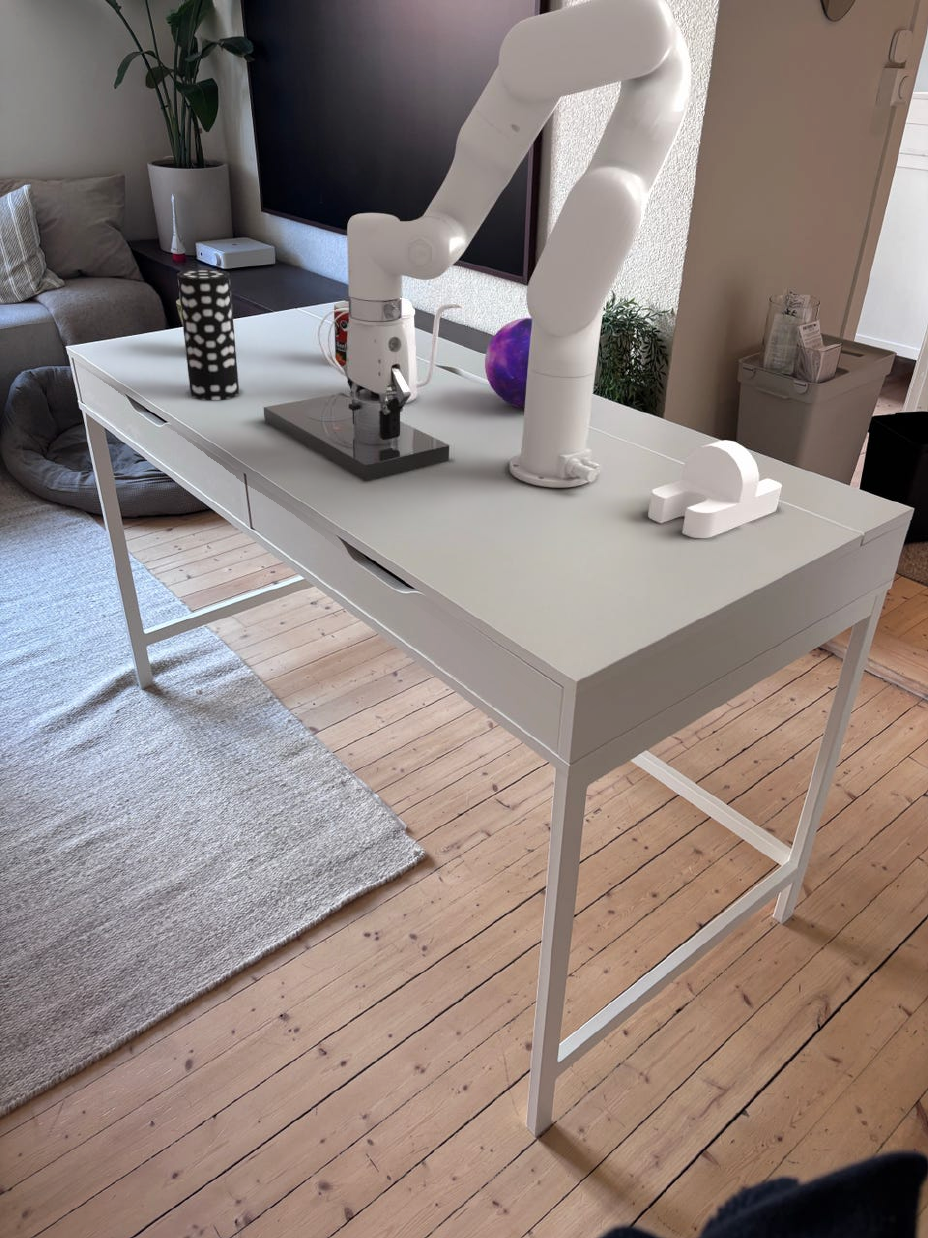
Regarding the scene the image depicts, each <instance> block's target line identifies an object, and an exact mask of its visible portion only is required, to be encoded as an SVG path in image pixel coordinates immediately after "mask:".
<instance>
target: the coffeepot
mask: <svg viewBox="0 0 928 1238" xmlns="http://www.w3.org/2000/svg"><path fill="white" fill-rule="evenodd" d="M464 308H465V307H464V306H463V305H461V304H460V303H457V302H448V303H444V304H443V305H441V306H440V307H438V309H437V310H436V312H435V315H434V320H433V330H432V340H431V349H430V356H429V357H430V358H429V365H428V366H429V367H428V371H427V375H426V378H424V380H421V381H418V366H417V363H418V362H417V349H416V346H417V345H416V332H415V331H416V330H415V328H416V327H415V315H416V309H415V308H414V307H413V305H412V302H411V301H410V300H409V299H407V298H406V297H403V296H402V321H401V322H403V323H404V327H405V332H406V338H407V347H408V364H409V387H408V388H409V390H410V392H411V396H410V397H409V399H408V400H407V401H406V404H408V403H411V402H413V401H414V400H415V399H416V398H417V397H418V395H419V388H421V387H424V386H426V385H428V384H429V383H430V382H431V380H432V379H433V376H434V371H435V366H436V355H437V346H438V337H439V329H440V328H439V327H440V319H441V316H442V313H443V312H445V311H447V310H449V309H464ZM337 311H345V312H343V313H341V314H340V315H339V316H338V317H340V316H341V315H343V314H345V313H348V312H349V308H341V309H336V310H334V309H333V310H332V311H330V312H328V313H327V314H326V316H324V318H323V319H322V320H321V322H320V325H319V327H318V333H317V334H318V335H317V337H318V338H317V339H318V345H319V348H320V349H321V352H322V354H323V356H324V358H325V359H326V361H327V362H328V364H329V365H330V366H331V367H332V368H333V369H334V370H336V371H337V372H338V373H339V374H341V375H343V376H344V377H345V378H347V377H346V374H345V372H344V369H343V366H342V365H340V364H339V363H338V362H337V360H336V358H335V355H334V354H335V353H334V351H333V349H332V341H331V339H332V338H331V337H332V329H333V328H334V327H333V326H334V322H335V321H336V319H337V318H338V317H337V318H336V319H335V320H334V319H333V321H332V323H331V325H330V326H329V330H328V336H327V347H328V351H329V355H330V356H329V355H328V354H327V352H326V350H325V347H324V344H323V340H322V328H323V324H324V322H325V320H326V319H327V318H328V316H330V315H332V314H334V312H337ZM330 357H331V358H330ZM387 390H392V389H391V387H387Z"/></svg>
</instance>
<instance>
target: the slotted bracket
mask: <svg viewBox="0 0 928 1238" xmlns="http://www.w3.org/2000/svg"><path fill="white" fill-rule="evenodd" d="M782 487H783V485H782V483H780V482H779V481H776V480H774V479H771V478H764V479H762V480H760V473H759V469H758V464H757V462H756V460H755V458H754V456H753V454H751V452H750V451H748V449H747V448H746V447H745V446H743V445H741V444H739V443H738V442H736V441H732V440H726V439H725V440H720V441H715V442H711V443H709V444H706V445H702V446H699V447H698V448H696V449H694V450H693V451H691V452H690V453H689V455H688V456H687V458H686V459H685V462H684V464H683V470H682V476H681V479H679V480H677V481H673V482H671V483H667V484H665V485H661V486H658V487H656V488H653V489H652V490H651V494H650V500H649V506H648V513H647V517H648V518H649V519H650V520H653V521H654V522H657V523H658V524H663V523H666V522H669V521H672V520H674V519H677V518H679V517H684V521H683V525H682V532H681V534H683V535H686V536H687V537H689V538H694V539H709V538H713V537H715V536H718V535H720V534H722V533H725V532H727V531H730V530H732V529H735V528H738V527H740V526H743V525H745V524H748V523H750V522H753V521H755V520H757V519H761V518H763V517H765V516H768V515H770V514H772V513H775V512H776V511H777V510H778V509H777V508H778V505H779V502H780V501H779V500H780V496H781V491H782Z"/></svg>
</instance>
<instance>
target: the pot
mask: <svg viewBox="0 0 928 1238" xmlns="http://www.w3.org/2000/svg"><path fill="white" fill-rule="evenodd" d="M387 391H391V390H387ZM387 399H388V403H390V402H391V400H392V399H393V397H392V395H391V396H387ZM349 409H351V410H352V411H354V438H355V439H356V440H357V441H359V442H361V443H364V444H370V445H383V444H389V443H392V442H395V441H396V440H397V439H398V437H396V438H392V439H387V440H382V439H381V438H380V413H383V409H382V405H381V401H380V397H379V394H377V393H375V392H373V391H370V390H368V389H363V390H360V391H357V392H356V393H355V394H354V403H352V404H349Z"/></svg>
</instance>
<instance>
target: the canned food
mask: <svg viewBox="0 0 928 1238" xmlns="http://www.w3.org/2000/svg"><path fill="white" fill-rule="evenodd" d="M341 308H349V300H347V301H346V300H345V301H340V302H336V303H335V304H334V305H333V311H334V310H336V309H341ZM343 312H345V311H337V312H334V313H333V321H334V320H335V319H336V318H337V317H338V316H339V315H340V314H341V313H343ZM348 324H349V312H348V313H345V314H343V315H341V316H340V317H338V318H337V319H336V321H335V322H334V324H333V326H334V327H333V328H334V351H335V352H334V354H335V355H334V357H335V358H336V360H337V362H338V363H339V364H340V366H341V367H343V366H344V365H345V364H346V362H347V335H348Z"/></svg>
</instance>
